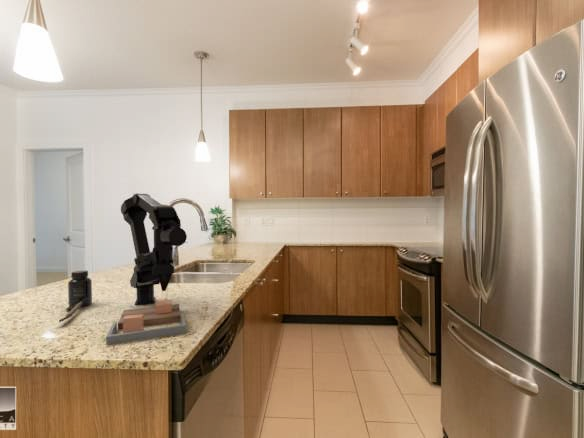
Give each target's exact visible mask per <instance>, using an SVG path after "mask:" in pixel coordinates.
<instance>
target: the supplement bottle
mask: <svg viewBox="0 0 584 438" xmlns="http://www.w3.org/2000/svg"><path fill="white" fill-rule="evenodd" d="M88 276H89V270H76V271H72V272H71V276H70V277H71V279H70V280H68V282H67V283H68V284H67V285H68V286H67V291H68V292H67V293H68V307H69V306H71V305H73V304H76V303H78V302H80V301H82V300H85V299H86V298H89V300H86V301H84V302H82V303H83V304H82V305H81V306H80V307H79V308H83V307H87V306H89V305H92V304H93V287H92V285H93V284H92V279H91V278H89V277H88ZM74 307H75V306H74ZM74 307H72V308H71V309H73V308H74Z"/></svg>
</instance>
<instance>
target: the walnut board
mask: <svg viewBox="0 0 584 438" xmlns="http://www.w3.org/2000/svg"><path fill="white" fill-rule="evenodd" d="M180 309H181V308H180V303H176V304H172V312H168V313H160V314H156V306H150V307H149V306H148V307H142V308H139V307H138V308H134V309H133V308H132V309H123V310H122V311H123V312H122V313H121V316H120V318H119V320H118V322H117V331H120V330H123V318H124V317H125V316H128V315H138V314H144V327H150V326H158V325H159V326H160V325H166V324H172V323H173V324H174V323H181V311H180Z"/></svg>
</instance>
